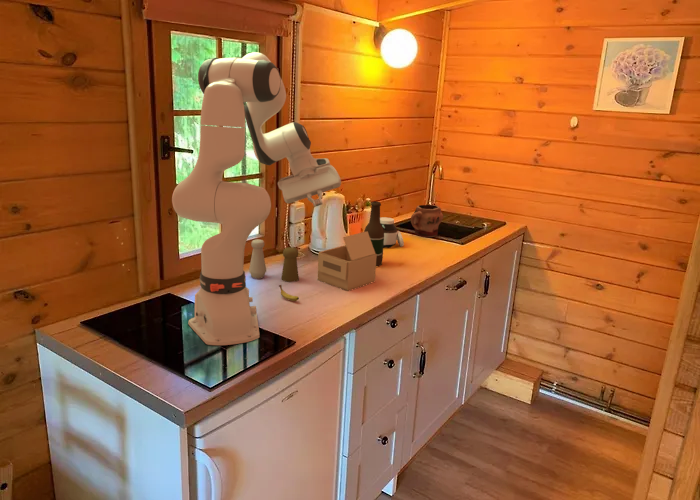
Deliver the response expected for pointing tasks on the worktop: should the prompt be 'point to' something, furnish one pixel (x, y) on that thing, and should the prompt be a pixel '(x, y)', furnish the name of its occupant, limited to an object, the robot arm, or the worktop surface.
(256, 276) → the salt shaker
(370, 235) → the beer bottle
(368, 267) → the carton
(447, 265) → the worktop surface
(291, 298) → the banana
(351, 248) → the flap
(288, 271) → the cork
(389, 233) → the spread jar
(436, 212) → the decorative planter
